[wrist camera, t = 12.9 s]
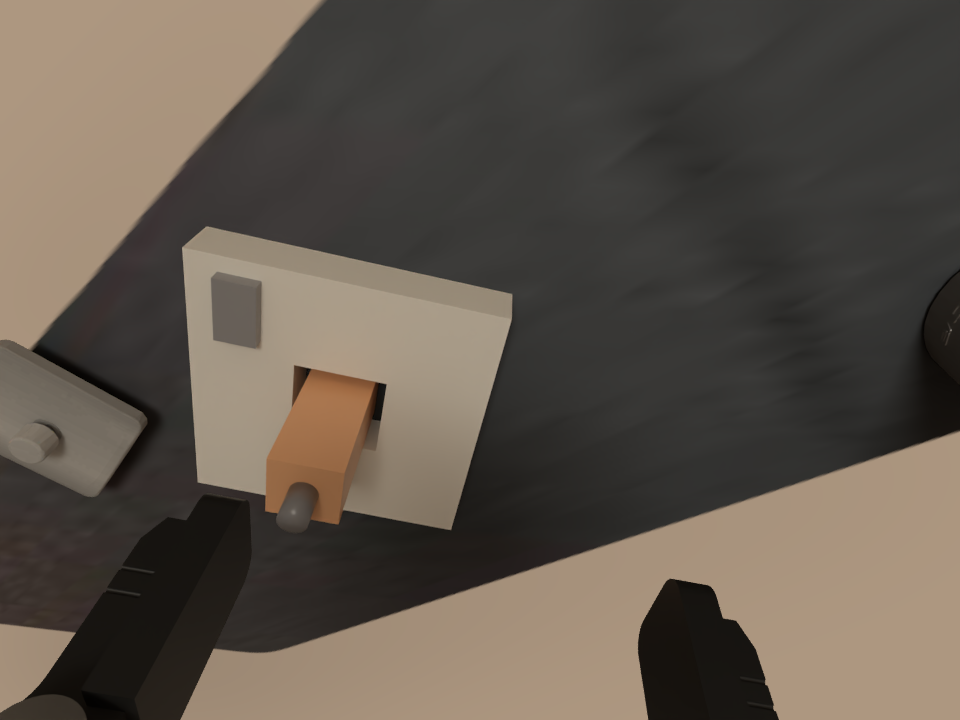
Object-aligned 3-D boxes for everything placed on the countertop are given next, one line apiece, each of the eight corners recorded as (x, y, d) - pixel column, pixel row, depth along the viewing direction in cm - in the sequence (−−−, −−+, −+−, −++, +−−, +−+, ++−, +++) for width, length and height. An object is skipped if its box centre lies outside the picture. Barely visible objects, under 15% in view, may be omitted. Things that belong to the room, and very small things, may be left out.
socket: (512, 294, 36) (511, 326, 33) (454, 499, 46) (449, 539, 42) (206, 226, 34) (175, 253, 31) (215, 452, 44) (192, 490, 41)
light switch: (165, 399, 42) (126, 448, 38) (115, 474, 46) (75, 526, 42) (22, 318, 39) (-38, 362, 34) (-17, 407, 43) (-75, 456, 39)
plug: (381, 363, 39) (334, 502, 29) (374, 410, 41) (328, 554, 31) (320, 351, 39) (251, 487, 29) (316, 399, 41) (251, 540, 31)
